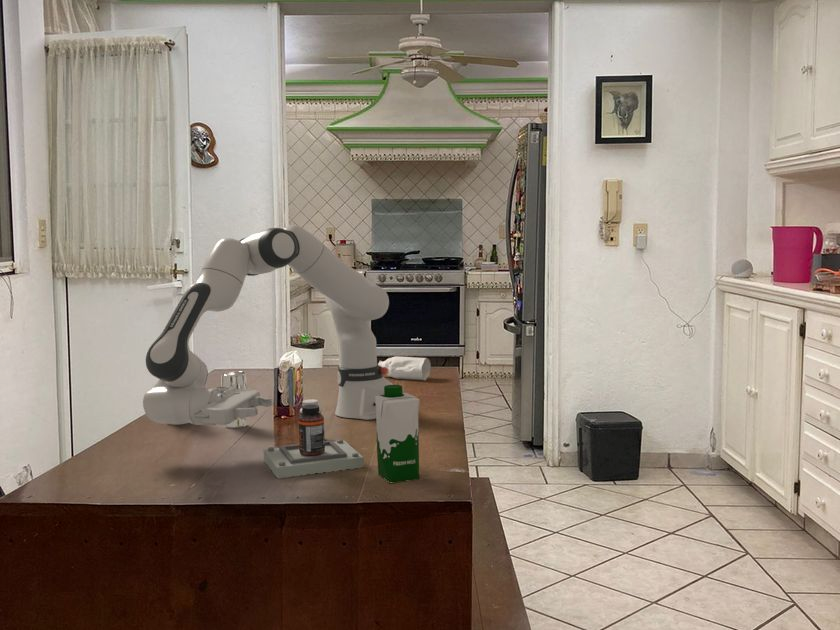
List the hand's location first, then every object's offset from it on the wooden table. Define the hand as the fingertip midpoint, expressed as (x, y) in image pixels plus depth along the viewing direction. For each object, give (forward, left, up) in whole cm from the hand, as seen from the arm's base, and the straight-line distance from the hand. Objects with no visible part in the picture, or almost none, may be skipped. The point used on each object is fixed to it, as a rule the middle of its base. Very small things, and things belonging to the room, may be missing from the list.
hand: (264, 407), depth 198 cm
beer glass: (+1, -38, -13) cm, 41 cm away
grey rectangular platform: (-10, +7, -13) cm, 18 cm away
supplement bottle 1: (-15, -15, -13) cm, 25 cm away
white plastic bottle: (-65, -83, -13) cm, 106 cm away
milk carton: (-25, +25, -13) cm, 37 cm away
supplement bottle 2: (-10, +6, -11) cm, 16 cm away
